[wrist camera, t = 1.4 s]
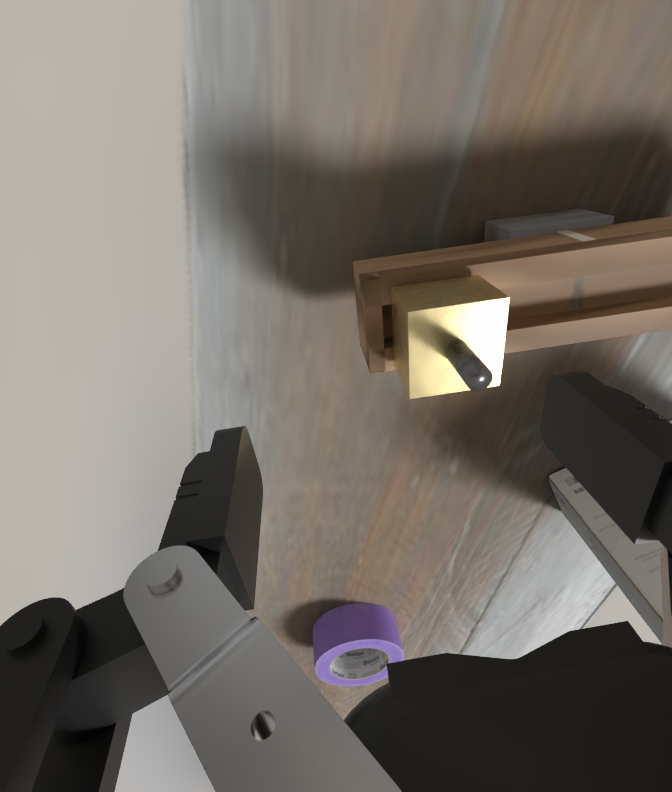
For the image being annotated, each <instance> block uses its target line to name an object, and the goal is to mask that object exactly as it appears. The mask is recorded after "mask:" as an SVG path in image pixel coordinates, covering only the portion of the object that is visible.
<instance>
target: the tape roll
mask: <svg viewBox="0 0 672 792" xmlns="http://www.w3.org/2000/svg"><path fill="white" fill-rule="evenodd" d="M313 648H314V665H315V672H316V674H317V676H318V677H319V678H320V679H321V680H323V681H324V682H326V683H329V684H332V685H337V686H360V685H365V684H369V683H373V682H376V681H379V680H382V679H384V678H386V677H388V672H387V665H386V664H388V663H393V662H399V661H403V659H404V653H403V649H402V645H401V640H400V636H399V632H398V628H397V623H396V619H395V616H394V615H393V613H392V612H391V611H390V610H388V609H387V608H385V607H383V606H380V605H376V604H371V603H353V604H347V605H343V606H339V607H336V608H334V609H332V610H329V611H328V612H326V613H324V614H323V615H322V616H321V617H320V618H319V619H318V620H317V621H316V622H315V624H314V627H313Z"/></svg>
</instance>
